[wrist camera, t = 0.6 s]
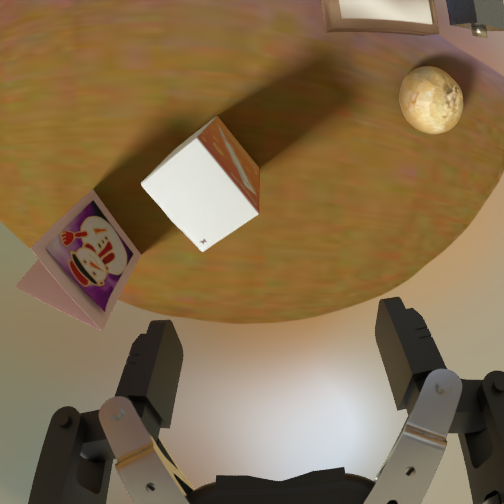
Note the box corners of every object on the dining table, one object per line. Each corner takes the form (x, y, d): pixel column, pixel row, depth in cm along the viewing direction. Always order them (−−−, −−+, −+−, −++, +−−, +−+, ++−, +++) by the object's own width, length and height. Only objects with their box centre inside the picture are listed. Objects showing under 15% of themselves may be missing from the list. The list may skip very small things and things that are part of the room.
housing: (439, -31, 21) (464, -40, 16) (469, -23, 21) (496, -29, 16) (451, 33, 26) (478, 32, 21) (480, 39, 26) (508, 40, 21)
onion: (442, 132, 33) (473, 147, 27) (388, 124, 33) (413, 137, 27) (448, 72, 29) (481, 77, 23) (392, 59, 29) (419, 59, 23)
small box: (260, 167, 37) (261, 215, 26) (218, 197, 39) (201, 255, 28) (217, 113, 33) (196, 135, 22) (175, 147, 36) (137, 185, 24)
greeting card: (145, 252, 43) (107, 328, 30) (110, 271, 45) (69, 344, 32) (97, 185, 38) (34, 244, 25) (64, 212, 40) (4, 272, 27)
